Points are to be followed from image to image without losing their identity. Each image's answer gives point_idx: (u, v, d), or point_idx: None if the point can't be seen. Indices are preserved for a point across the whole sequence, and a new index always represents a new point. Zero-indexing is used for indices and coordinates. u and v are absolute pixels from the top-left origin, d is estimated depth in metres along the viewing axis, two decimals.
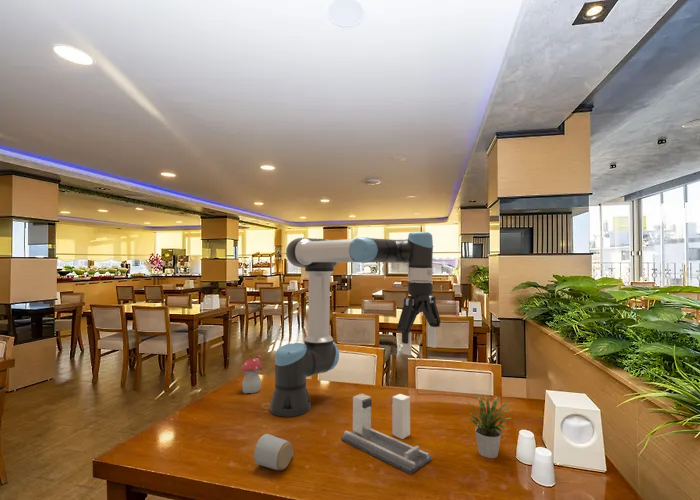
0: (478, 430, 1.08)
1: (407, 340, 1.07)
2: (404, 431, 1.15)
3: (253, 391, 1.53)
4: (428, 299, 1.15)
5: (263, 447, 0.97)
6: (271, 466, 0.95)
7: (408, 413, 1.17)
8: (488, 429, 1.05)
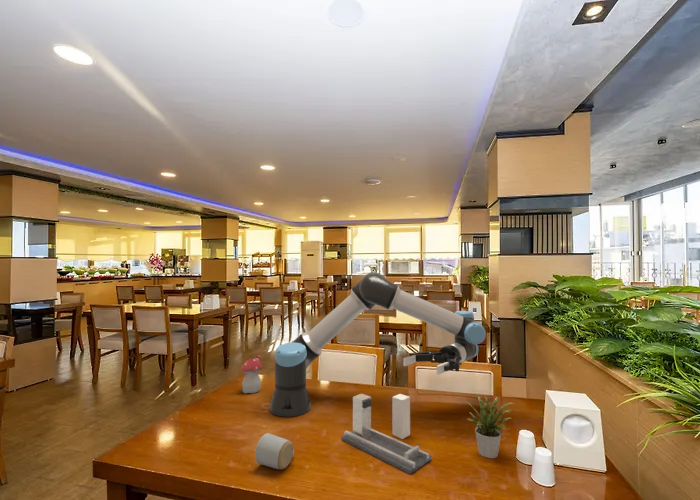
0: (478, 430, 1.08)
1: None
2: (404, 431, 1.15)
3: (253, 391, 1.53)
4: None
5: (264, 446, 0.97)
6: (272, 465, 0.96)
7: (408, 413, 1.17)
8: (488, 429, 1.05)
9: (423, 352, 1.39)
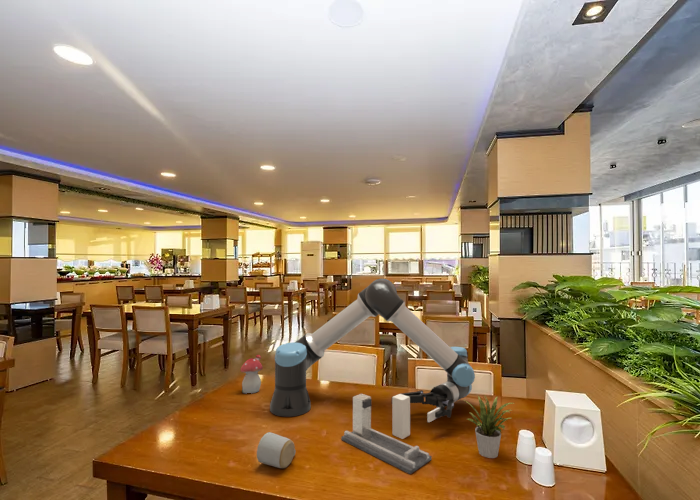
0: (478, 430, 1.08)
1: None
2: (404, 431, 1.15)
3: (253, 391, 1.53)
4: None
5: (266, 445, 0.98)
6: (274, 464, 0.96)
7: (408, 413, 1.17)
8: (488, 429, 1.05)
9: (414, 392, 1.34)
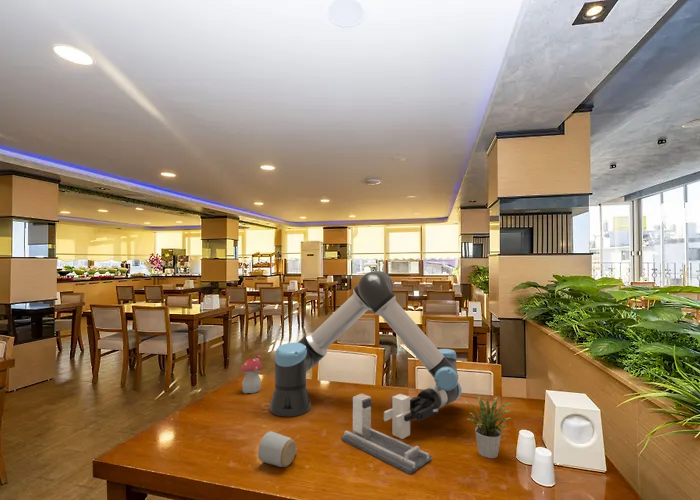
0: (478, 430, 1.08)
1: None
2: (404, 431, 1.15)
3: (253, 391, 1.53)
4: None
5: (267, 444, 0.98)
6: (275, 463, 0.97)
7: None
8: (488, 429, 1.05)
9: None
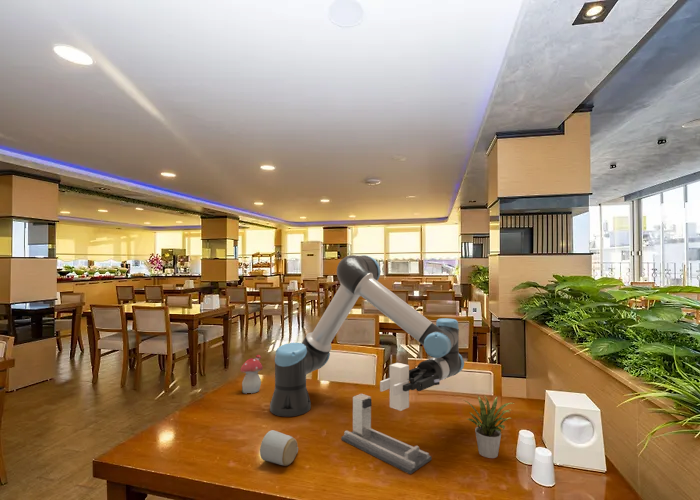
0: (478, 430, 1.08)
1: None
2: (403, 402, 1.04)
3: (253, 391, 1.53)
4: None
5: (269, 443, 0.99)
6: (277, 461, 0.97)
7: None
8: (488, 429, 1.05)
9: None
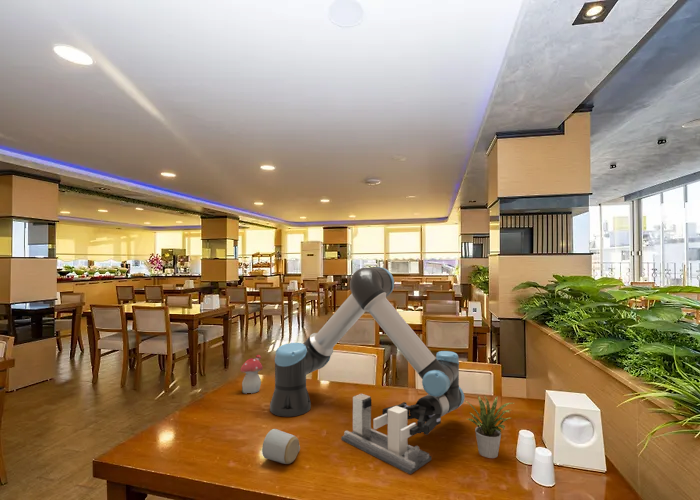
0: (478, 430, 1.08)
1: None
2: (401, 448, 1.02)
3: (253, 391, 1.53)
4: None
5: (271, 441, 1.00)
6: (279, 460, 0.98)
7: None
8: (488, 429, 1.05)
9: (398, 405, 1.15)
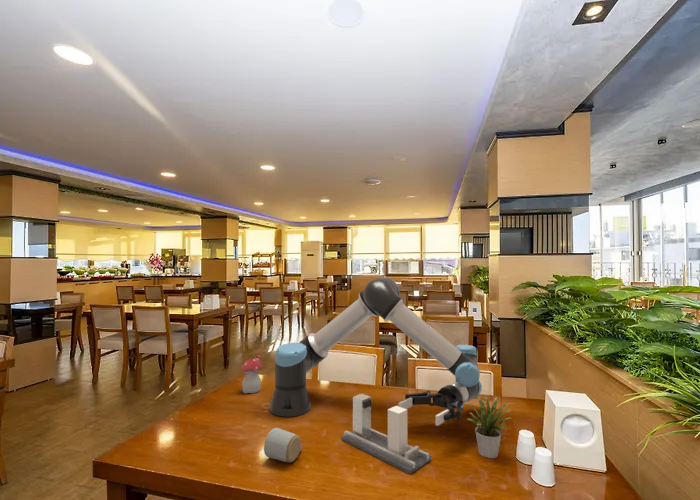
0: (478, 430, 1.08)
1: None
2: (401, 448, 1.02)
3: (253, 391, 1.53)
4: None
5: (273, 440, 1.01)
6: (280, 458, 0.99)
7: (405, 428, 1.04)
8: (488, 429, 1.05)
9: (421, 393, 1.25)
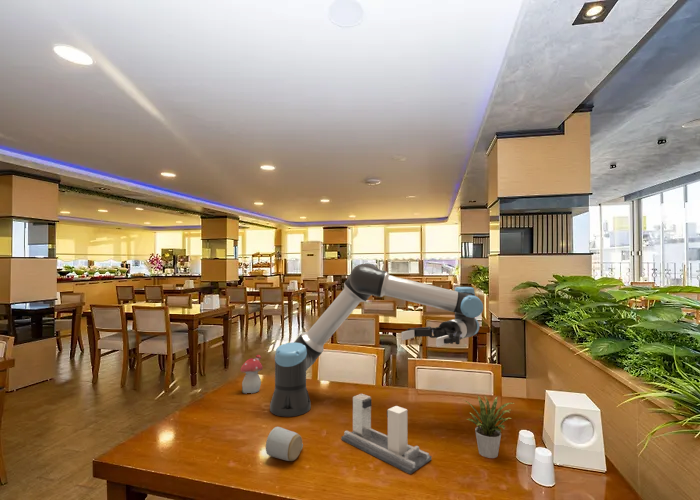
0: (478, 430, 1.08)
1: None
2: (401, 448, 1.02)
3: (253, 391, 1.53)
4: None
5: (274, 439, 1.01)
6: (282, 457, 1.00)
7: (405, 428, 1.04)
8: (488, 429, 1.05)
9: None
